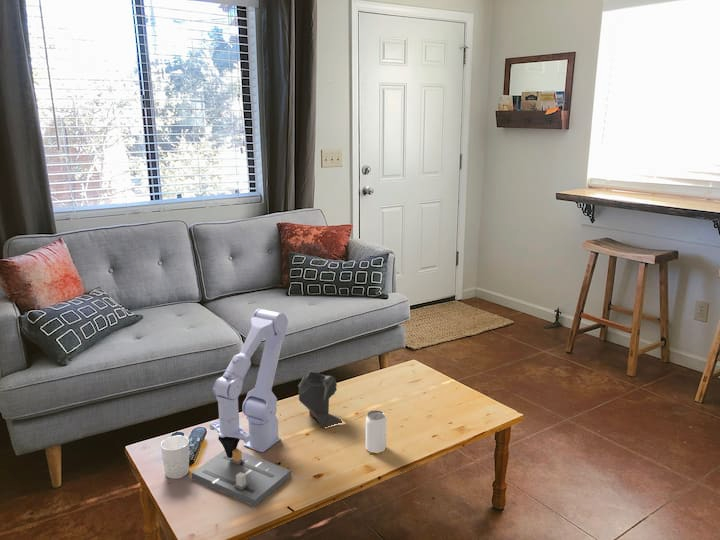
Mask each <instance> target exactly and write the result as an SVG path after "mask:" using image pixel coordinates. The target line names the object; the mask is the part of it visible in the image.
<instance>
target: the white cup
mask: <svg viewBox="0 0 720 540" xmlns="http://www.w3.org/2000/svg"><path fill="white" fill-rule="evenodd" d="M160 448H161V449H160V450H161V456H162V457H161V458H162V463H163V467H164V474H165V476H166V477H167V478H169V479H173V480H174V479H176V480H177V479H182V478H183V477H185V476H187V475H188V473H189V471H190V441H189V438H188V437H187V436H184V435H178V434H177V435H172V436H169V437H166V438H165V439H163V440H162V441H161V442H160Z"/></svg>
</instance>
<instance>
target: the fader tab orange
mask: <svg viewBox="0 0 720 540" xmlns="http://www.w3.org/2000/svg"><path fill="white" fill-rule="evenodd" d="M242 452H243V451H242V449H239V448H238V447H237V448H236V449H235V450H233V451H232V455H233V459H231V460H230V462H232V463H235V464H237V465H238V464H240V463H241V462H243V461H244V458H242Z"/></svg>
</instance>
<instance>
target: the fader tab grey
mask: <svg viewBox="0 0 720 540" xmlns="http://www.w3.org/2000/svg"><path fill="white" fill-rule="evenodd" d="M248 485H249V483H247V482H246V474H244V473H241V472H240V473H238V474H237V475H236V484H235V485H234V487H236V488H238V489H241V490H243V489H244V488H245V487H247V486H248Z"/></svg>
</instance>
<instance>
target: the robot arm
mask: <svg viewBox="0 0 720 540" xmlns="http://www.w3.org/2000/svg"><path fill="white" fill-rule="evenodd" d="M288 325H289V320H288V318H287V315H286V314H285V313H284V312H279V311H278V312H277V311H272V310H269V309H264V308H262V307H261V308H257V309H256V310H255V311H254V313H253V314H252V317H251V319H250V326H251V328H250V330H249V333H248V334H247V335H246V336H247V337H246V338H245V340H244V343H243V345H242V348H241V349H240V352H239V353H238V354H235V355H233V357H232V359H231V361H230V362H229V364H228V366H227V368H226V370H225V371H224V373H223V375H222V376H221V377H218V378H217V379H216V380H215V382H214V385H213V388H212V392H213V394H214V395H215V399H216V401H217V406H218V407H217V408H218V421H214V420H213V421H212V422H211V423H209V430H211V431H214V430H215V431H216V432H217V433H218V435H217V436H218V439H217V440H218V441H219V442H220V443H221V445H222V447H223V448H224V450H225V452H226V455H227V457H228V458H232V457H233V455H232V451H233V450H235V449H236V448H237V449H238V444H239V443H240V441H241V440H242V441H243V446H244V447H247V448H249V449H252V450H254V451H258V452H260V453H264V452H265V451H267V450H268V449H270V448H271V447H272V446H273V445H274V444H277V443H278V442H279V441H280V440H281V437H280V436H279V420H278V418H277V416H276V415H277V403H278V398H277V397H276V395H275V394H274V392H273V391H272V390H273V385H274V382H275V381H274V380H275V377H276V376H275V375H276V372H277V367H278V362H279V358H280V354H281V350H282V345H283V341H284V339H285V338H286V332H287V329H288ZM263 339H265V343H264V347H263V350H262V351H263V352H262V355H261V359H260V363H259V368H258V372H257V376H256V382H255V386H254V388H252V389H251V390H249V391H248V392H247V394H246V397H245V399H244V400H243V402H242V408H241V410H242V411H241V412H242V414H243V415H245V416H246V420H247V421H248V432H247V431H245V429H243V428H242V427H241V426H240V413H239V396H240V394H241V393H242V390H243V384H244V378H245V377H246V374H247V373H248V371H249V369H250V367H251V365H252V362H251V359H252V356H253V355H254V353H255V352H256V350H257V349H258V348H259V346H260V344H261V342H262V341H263Z"/></svg>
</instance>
